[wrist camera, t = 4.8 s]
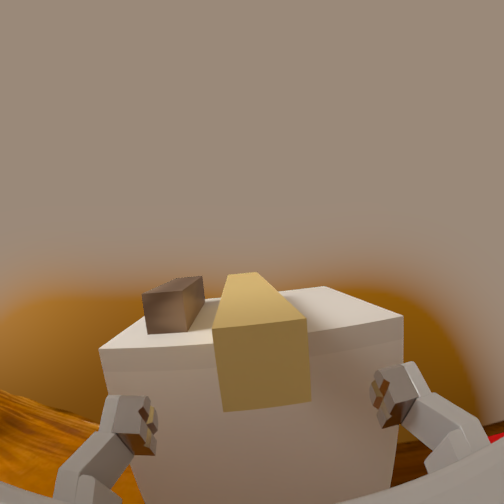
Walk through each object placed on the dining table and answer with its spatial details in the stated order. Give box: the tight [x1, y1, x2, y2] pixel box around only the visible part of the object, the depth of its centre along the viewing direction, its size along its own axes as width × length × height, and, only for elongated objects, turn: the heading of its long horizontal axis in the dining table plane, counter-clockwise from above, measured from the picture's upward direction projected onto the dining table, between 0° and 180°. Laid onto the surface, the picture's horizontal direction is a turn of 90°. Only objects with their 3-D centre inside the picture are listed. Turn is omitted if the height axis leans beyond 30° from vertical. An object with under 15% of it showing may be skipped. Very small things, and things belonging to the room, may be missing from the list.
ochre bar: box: [212, 272, 311, 412], centre depth 22 cm, size 3×24×3 cm, turn 3°
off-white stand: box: [99, 286, 403, 504], centre depth 29 cm, size 20×20×26 cm
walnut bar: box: [142, 276, 205, 335], centre depth 29 cm, size 3×14×3 cm, turn 3°
